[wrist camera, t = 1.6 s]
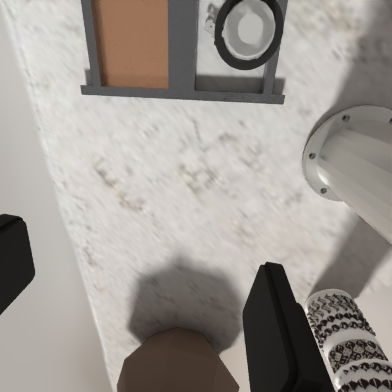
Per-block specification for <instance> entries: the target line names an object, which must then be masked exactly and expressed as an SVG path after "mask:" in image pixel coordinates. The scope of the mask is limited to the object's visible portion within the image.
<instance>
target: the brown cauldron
mask: <svg viewBox="0 0 392 392" xmlns="http://www.w3.org/2000/svg"><path fill="white" fill-rule="evenodd" d="M238 391H239V385H238V384H237V382H236V381H235V379H234V378H233V377H232V375H231V374H230V372H229V371H228V369H227V368H226V366H225V365H224V363H223V362H222V360H221V359H220V357H219V356H218V354H217V353H216V351H215V350H214V348H213V347H212V346H211V345H210V343H209V342H208V341H207V339H206V338H205V337H204V335H203V334H202V333H198V332H194V331H190V330H186V329H182V328H178V327H176V328H173V329H169V330H166V331H162V332H159V333H156V334H154V335H153V336H152V337H150V338H149V339H148V340H147V341H146V342H145V343H143V344H142V345H141V346H140V347H139V348H138V349H136V350H135V351H134V352H133V353H132V354H131V355H129V356H128V357H127V358H126V359H125V360H124V363H123V367H122V370H121V373H120V377H119V380H118V383H117V392H238Z"/></svg>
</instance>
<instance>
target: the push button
mask: <svg viewBox="0 0 392 392" xmlns="http://www.w3.org/2000/svg"><path fill="white" fill-rule="evenodd" d="M225 19H226V21H225ZM224 21H225V22H224ZM283 25H284V24H283V15H282V11H281V8H280V6H279V4H278V2H277V1H276V0H227V1H226V2H225V3H224V5H223V6H222V8H221V9H220V11H219V14H218V16H217V19H216V23H215V24H214V23H213V22H211V21H210V20H207V22H206V24H205V30H206V31H208V32H209V33H211V34H212V35H213V36H212V37H214V38H215V42H214V45H216V48H217V50H218V53H219V55H220V56H221V58H222V59H223V60H224V61H225V62H226V63H227V64H228V65H229V66H231V67H233V68H235V69H239V70H251V69H255V68H257V67H259V66H261V65H263V64H264V63H266V62H267V61H268V60H269V59H270V58H271V57H272V56H273V55H274V53H275V52H276V50H277V48H278V46H279V44H280V42H281V38H282V34H283ZM209 26H212V28H209ZM260 55H261V56H260ZM259 56H260V57H259ZM257 57H259V58H258V59H257Z"/></svg>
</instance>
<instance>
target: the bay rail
mask: <svg viewBox="0 0 392 392" xmlns="http://www.w3.org/2000/svg"><path fill="white" fill-rule="evenodd" d="M276 1H277V2H278V4H279V6H280V8H281V11H282V15H283V24H284V20H285V14H286V9H287V3H288V0H276ZM81 4H82V12H83V19H84V26H85V33H86V41H87V48H88V55H89V62H90V69H91V77H92V84H93V85H80V86H81V93H82V95H102V96H122V97H143V98H163V99H183V100H204V101H224V102H245V103H265V104H283V103H284V98H285V95H282V94H272V91H273V85H274V79H275V73H276V67H277V62H278V56H279V50H280V44H281V42H280V44H279V46H278V48H277V50H276V52H275V53H274V55H273V56H272V57H271V58H270V59H269V60H268V61H267V62H266V63H265V68H264V75H263V81H262V88H261V93H241V92H220V91H199V90H195V72H196V44H197V16H198V0H81ZM283 26H284V25H283Z"/></svg>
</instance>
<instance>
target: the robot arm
mask: <svg viewBox="0 0 392 392" xmlns="http://www.w3.org/2000/svg"><path fill="white" fill-rule="evenodd" d="M343 116H344V118H343ZM342 118H343V119H342ZM310 153H311V155H310V156H309V154H310ZM302 168H303V174H304V177H305V180H306V181H307V183H308V184H309V186H310V187H311V188H312V189H313V190H314V191H315V192H316V193H317V194H318V195H320V196H322V197H324V198H326V199H329V200H333V201H340V202H345V203H346V204H347V205H348V206H349V207H350V208H352V209H353V210H354V211H355V212H356V213H357V214H358V215H359V216H360V217H362V218H363V219H364V220H365V221H366V222H367V223H368V224H369V225H370V226H371V227H373V228H374V229H375V230H376V231H377V232H378V233H379V234H380V235H381V236H383V237H384V238H385V239H386V240H387V241H388V242H389V243H390V244H391V245H392V110H389V109H387V108H384V107H379V106H371V105H362V106H355V107H351V108H348V109H345V110H343V111H341V112H339V113H337V114H335V115H333V116H332V117H330V118H329V119H328V120H326V121H325V122H324V123H323V124H322V125H321V126H320V127H319V128H318V129H317V130H316V131H315V132H314V134H313V135H312V136H311V138H310V139H309V141H308V143H307V145H306V148H305V151H304V154H303V161H302ZM34 276H35V268H34V263H33V257H32V252H31V247H30V242H29V236H28V231H27V226H26V223H25V222H24V221H23V219H22V218H21V217H19V216H14V215H8V214H2V215H0V315H1V314H2V313H3V311H4V310H5V309H6V308H7V307H8V306H9V305H10V304H11V303H12V302H13V301H14V300H15V299H16V297H17V296H18V295H19V294H20V293H21V292H22V291H23V290H24V289H25V288H26V287H27V285H28V284H29V283H30V282H31V281H32V280H33V278H34ZM242 319H243V328H244V337H245V345H246V355H247V362H248V372H249V381H250V390H251V392H335V390H334V387H333V384H332V382H331V379H330V377H329V374H328V372H327V369H326V366H325V364H324V361H323V358H322V356H321V354H320V351H319V348H318V346H317V343H316V340H315V338H314V335H313V333H312V330H311V327H310V325H309V322H308V320H307V317H306V315H305V312H304V309H303V308H302V306H301V305H300V304H299V303H296V300H295V298H294V295H293V292H292V289H291V287H290V284H289V281H288V279H287V276H286V273H285V270H284V268H283V266H282V265H281V264H277V263H272V262H266V263H265V265H260V267H259V270H258V272H257V275H256V278H255V280H254V283H253V286H252V288H251V291H250V293H249V296H248V299H247V301H246V304H245V307H244V309H243V315H242Z"/></svg>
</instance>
